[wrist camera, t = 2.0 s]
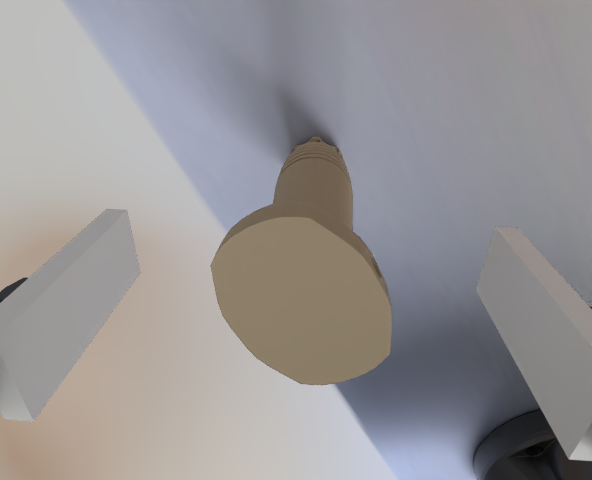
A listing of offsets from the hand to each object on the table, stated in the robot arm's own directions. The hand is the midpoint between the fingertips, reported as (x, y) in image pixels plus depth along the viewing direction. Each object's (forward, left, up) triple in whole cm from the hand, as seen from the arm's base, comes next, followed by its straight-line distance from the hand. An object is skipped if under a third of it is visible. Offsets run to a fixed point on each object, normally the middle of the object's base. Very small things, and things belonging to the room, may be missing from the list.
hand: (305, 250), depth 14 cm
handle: (0, 0, -12) cm, 12 cm away
